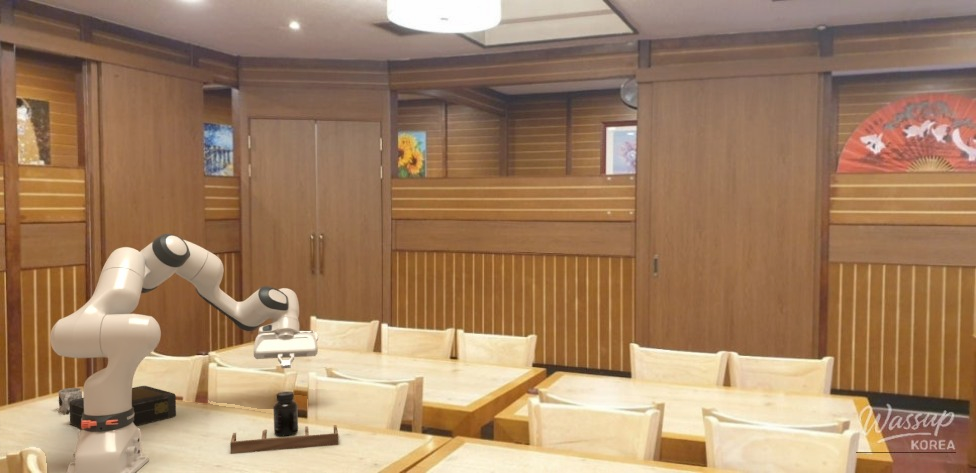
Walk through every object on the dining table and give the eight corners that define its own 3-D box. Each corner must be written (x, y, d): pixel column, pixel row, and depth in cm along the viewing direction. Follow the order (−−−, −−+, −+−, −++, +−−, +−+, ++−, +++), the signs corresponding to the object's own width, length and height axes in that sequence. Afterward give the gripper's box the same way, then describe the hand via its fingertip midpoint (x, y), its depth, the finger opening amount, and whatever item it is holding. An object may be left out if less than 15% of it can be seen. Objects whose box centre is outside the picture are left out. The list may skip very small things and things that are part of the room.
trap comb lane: (338, 444, 206) (338, 434, 206) (230, 453, 199) (230, 442, 199) (334, 425, 224) (334, 416, 224) (235, 433, 217) (235, 423, 216)
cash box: (145, 407, 247) (144, 384, 247) (178, 417, 235) (177, 393, 235) (66, 424, 227) (66, 399, 227) (98, 436, 215) (97, 410, 215)
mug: (62, 408, 245) (61, 388, 245) (84, 406, 247) (83, 387, 247) (54, 416, 235) (53, 395, 235) (77, 414, 237) (76, 394, 237)
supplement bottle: (288, 428, 221) (288, 389, 221) (302, 433, 217) (302, 392, 216) (269, 434, 216) (268, 393, 215) (283, 438, 211) (282, 397, 211)
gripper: (317, 336, 250) (318, 370, 241) (254, 338, 245) (253, 374, 236) (318, 325, 246) (319, 360, 237) (253, 327, 241) (252, 363, 232)
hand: (286, 367), depth 236 cm, fingers closed
